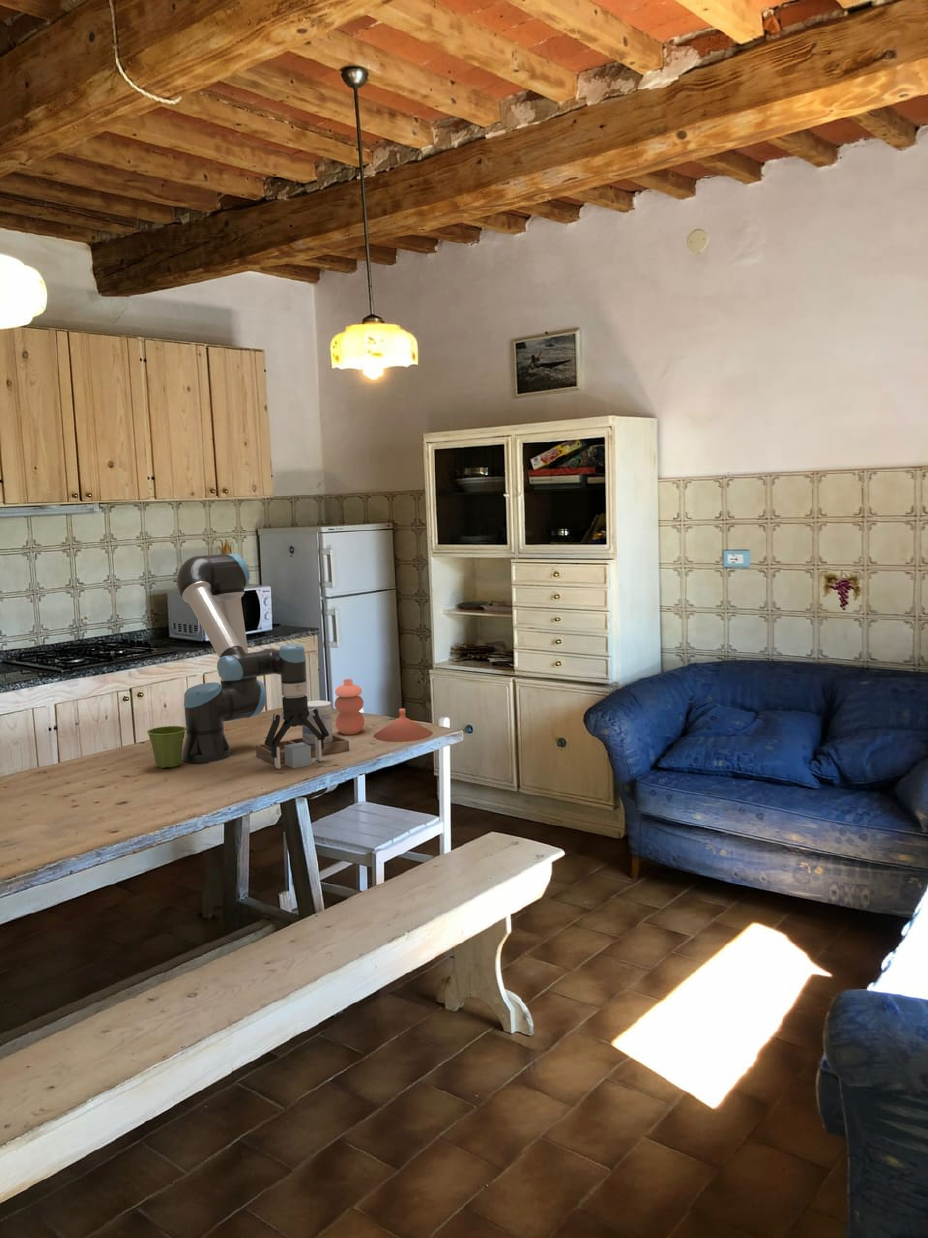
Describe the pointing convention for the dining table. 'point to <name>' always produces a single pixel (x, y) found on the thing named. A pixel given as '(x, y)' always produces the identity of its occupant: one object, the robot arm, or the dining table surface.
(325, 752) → the caddy
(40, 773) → the dining table surface
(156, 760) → the plant pot
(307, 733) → the supplement tub
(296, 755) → the slate block
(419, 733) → the ceramic vessels
